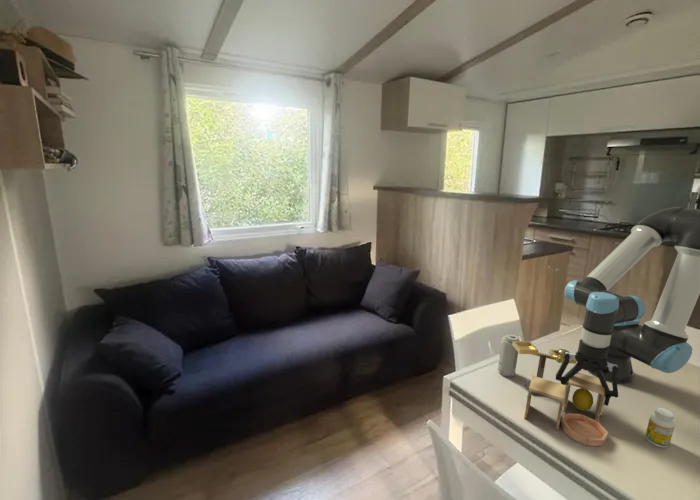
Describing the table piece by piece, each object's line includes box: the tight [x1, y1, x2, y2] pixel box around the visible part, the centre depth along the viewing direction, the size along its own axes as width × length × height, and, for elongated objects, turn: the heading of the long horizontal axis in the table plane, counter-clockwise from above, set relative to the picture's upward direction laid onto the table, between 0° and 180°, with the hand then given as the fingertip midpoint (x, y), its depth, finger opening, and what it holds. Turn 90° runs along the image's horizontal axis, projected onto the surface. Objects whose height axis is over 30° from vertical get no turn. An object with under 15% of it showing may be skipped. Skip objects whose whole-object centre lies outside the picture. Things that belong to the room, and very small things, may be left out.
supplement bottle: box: [644, 407, 675, 449], centre depth 102 cm, size 5×5×10 cm
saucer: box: [560, 412, 609, 448], centre depth 106 cm, size 11×11×2 cm
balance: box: [512, 340, 578, 396], centre depth 124 cm, size 19×6×17 cm, turn 88°
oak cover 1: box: [524, 375, 566, 432], centre depth 111 cm, size 9×8×11 cm
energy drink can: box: [497, 333, 520, 378], centre depth 134 cm, size 6×6×15 cm
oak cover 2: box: [562, 372, 605, 422], centre depth 114 cm, size 9×8×11 cm
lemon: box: [571, 388, 594, 412], centre depth 115 cm, size 6×6×8 cm
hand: (581, 406), depth 115 cm, fingers closed on oak cover 2, 9 cm apart
